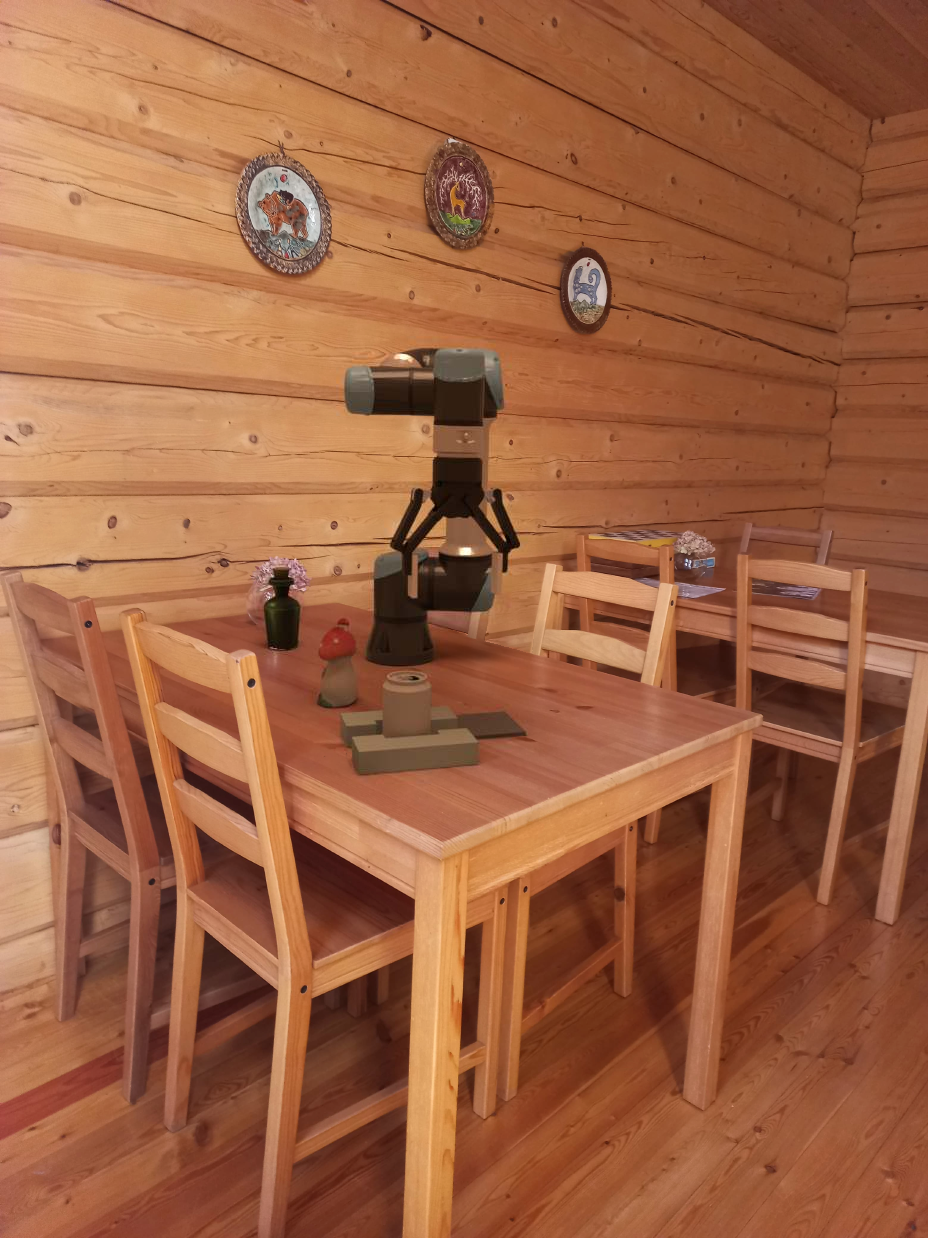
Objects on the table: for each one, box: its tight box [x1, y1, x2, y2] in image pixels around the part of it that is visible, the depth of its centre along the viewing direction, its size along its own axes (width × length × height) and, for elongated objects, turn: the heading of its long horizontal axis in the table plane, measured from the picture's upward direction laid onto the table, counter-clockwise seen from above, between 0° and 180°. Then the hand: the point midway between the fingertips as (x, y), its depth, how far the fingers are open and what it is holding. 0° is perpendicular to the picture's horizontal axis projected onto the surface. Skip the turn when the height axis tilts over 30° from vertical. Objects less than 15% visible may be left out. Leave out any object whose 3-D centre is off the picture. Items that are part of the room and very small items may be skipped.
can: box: [382, 670, 432, 738], centre depth 138 cm, size 8×8×12 cm
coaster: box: [455, 710, 527, 740], centre depth 150 cm, size 11×11×1 cm
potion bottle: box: [263, 566, 301, 649], centre depth 198 cm, size 8×8×18 cm
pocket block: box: [339, 705, 480, 776], centre depth 139 cm, size 18×18×4 cm
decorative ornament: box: [316, 618, 358, 709], centre depth 160 cm, size 9×7×15 cm
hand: (454, 595), depth 137 cm, fingers open, 13 cm apart
